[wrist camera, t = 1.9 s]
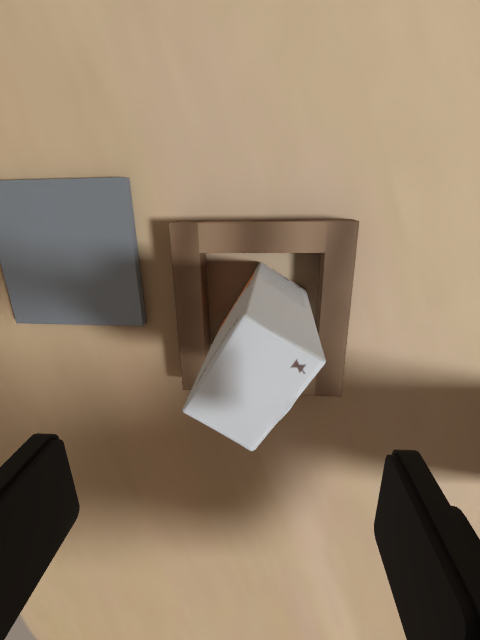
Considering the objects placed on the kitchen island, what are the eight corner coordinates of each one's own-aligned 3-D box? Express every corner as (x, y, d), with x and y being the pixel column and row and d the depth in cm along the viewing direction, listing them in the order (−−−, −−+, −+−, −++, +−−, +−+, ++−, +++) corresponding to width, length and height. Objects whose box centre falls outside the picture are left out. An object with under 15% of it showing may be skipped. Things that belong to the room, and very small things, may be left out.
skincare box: (259, 259, 24) (244, 309, 13) (307, 289, 25) (332, 362, 14) (219, 323, 26) (177, 413, 15) (264, 350, 27) (255, 456, 16)
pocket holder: (352, 219, 23) (359, 221, 21) (336, 383, 27) (341, 396, 25) (177, 221, 24) (168, 223, 22) (189, 377, 28) (183, 389, 27)
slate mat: (129, 178, 23) (124, 177, 23) (146, 322, 27) (142, 326, 26) (-13, 181, 24) (-22, 180, 24) (23, 319, 28) (16, 323, 28)
